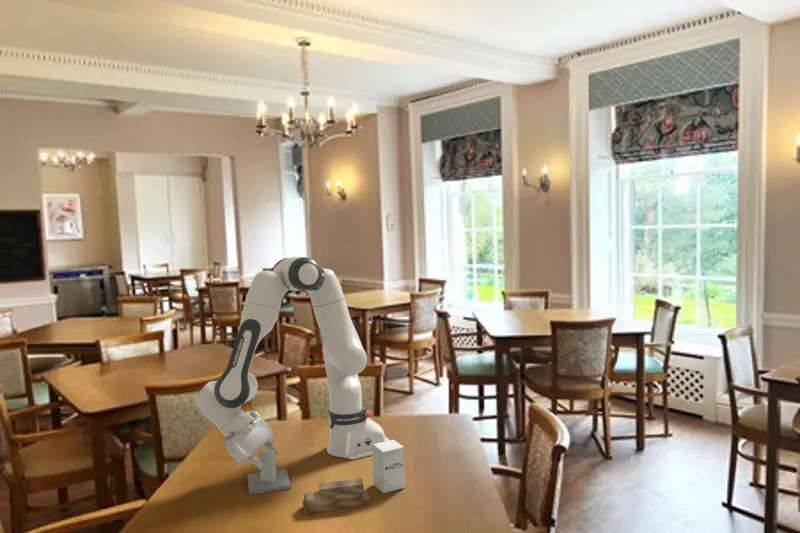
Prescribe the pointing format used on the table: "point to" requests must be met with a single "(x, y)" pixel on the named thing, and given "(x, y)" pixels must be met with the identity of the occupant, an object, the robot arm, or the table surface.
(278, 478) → the slate mat
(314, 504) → the offcut stack
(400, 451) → the supplement box
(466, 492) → the table surface
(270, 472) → the tall block
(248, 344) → the robot arm
